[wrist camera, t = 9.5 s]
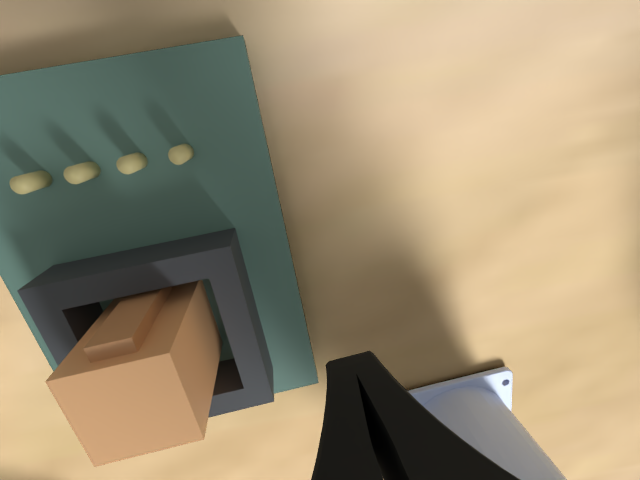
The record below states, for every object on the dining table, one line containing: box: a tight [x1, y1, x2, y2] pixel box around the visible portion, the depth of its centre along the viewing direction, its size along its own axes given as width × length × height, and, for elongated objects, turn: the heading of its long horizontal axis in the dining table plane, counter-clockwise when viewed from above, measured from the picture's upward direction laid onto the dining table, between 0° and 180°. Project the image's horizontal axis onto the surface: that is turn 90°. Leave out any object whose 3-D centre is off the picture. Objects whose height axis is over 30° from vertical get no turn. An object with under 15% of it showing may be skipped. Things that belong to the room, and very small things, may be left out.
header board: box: [0, 35, 319, 417], centre depth 16 cm, size 18×13×4 cm
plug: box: [46, 280, 223, 467], centre depth 15 cm, size 5×4×6 cm
